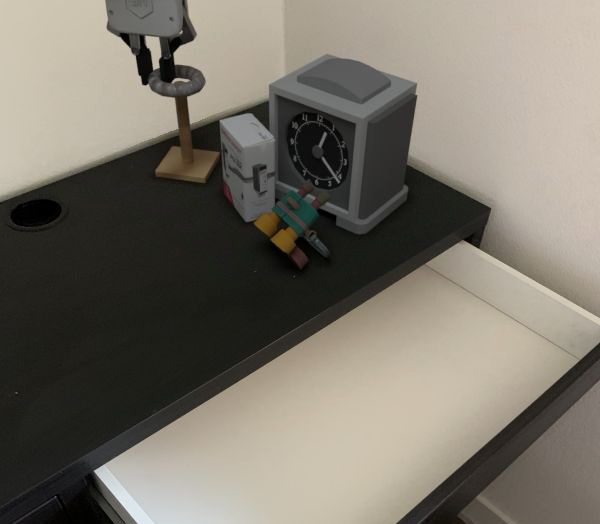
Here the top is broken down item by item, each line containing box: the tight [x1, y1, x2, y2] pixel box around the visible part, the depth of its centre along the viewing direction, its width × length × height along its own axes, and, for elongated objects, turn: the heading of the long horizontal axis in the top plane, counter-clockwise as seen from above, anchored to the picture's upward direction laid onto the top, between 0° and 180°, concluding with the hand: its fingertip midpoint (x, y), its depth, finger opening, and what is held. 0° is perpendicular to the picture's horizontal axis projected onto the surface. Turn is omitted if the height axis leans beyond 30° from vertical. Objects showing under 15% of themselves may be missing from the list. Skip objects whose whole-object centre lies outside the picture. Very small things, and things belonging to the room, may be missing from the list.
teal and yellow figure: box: [253, 179, 331, 270], centre depth 87 cm, size 9×9×10 cm
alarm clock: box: [268, 53, 418, 235], centre depth 94 cm, size 18×13×18 cm
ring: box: [148, 64, 207, 99], centre depth 95 cm, size 8×8×2 cm
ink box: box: [219, 112, 276, 223], centre depth 94 cm, size 9×5×12 cm, turn 27°
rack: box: [154, 80, 221, 184], centre depth 100 cm, size 8×8×13 cm
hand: (158, 81), depth 95 cm, fingers closed on ring, 2 cm apart
